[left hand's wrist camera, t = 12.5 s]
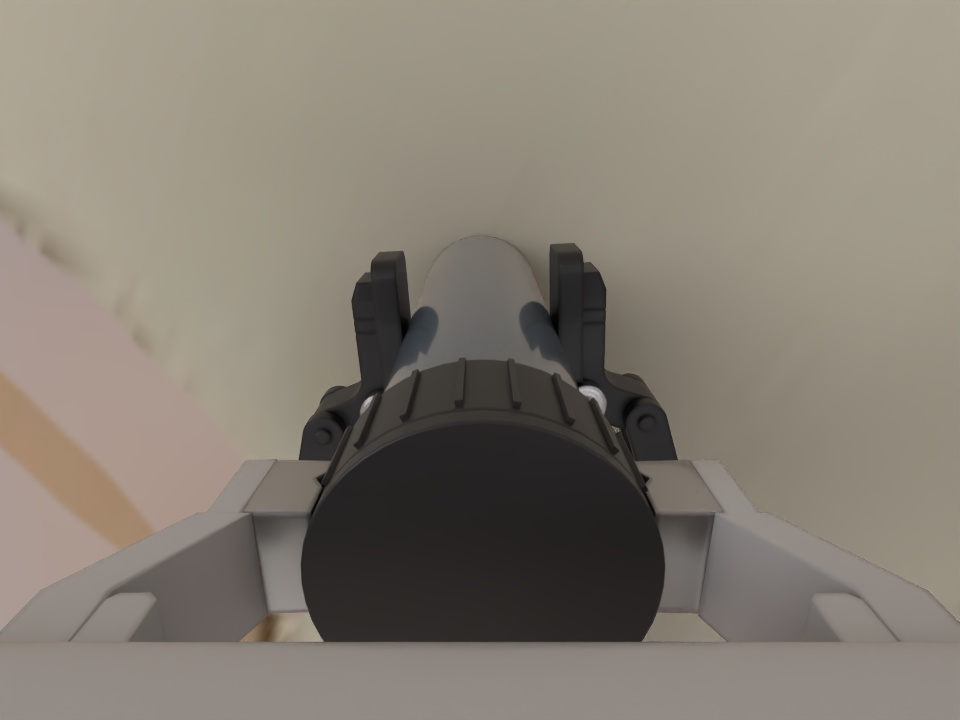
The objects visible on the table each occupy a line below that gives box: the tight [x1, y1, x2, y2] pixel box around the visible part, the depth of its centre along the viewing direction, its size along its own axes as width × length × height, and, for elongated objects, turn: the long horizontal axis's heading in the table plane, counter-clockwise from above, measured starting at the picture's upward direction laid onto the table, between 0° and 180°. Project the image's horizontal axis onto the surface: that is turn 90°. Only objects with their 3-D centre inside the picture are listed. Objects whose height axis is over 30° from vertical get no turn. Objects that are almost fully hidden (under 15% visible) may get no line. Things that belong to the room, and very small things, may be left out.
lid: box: [301, 357, 665, 642], centre depth 9 cm, size 5×5×2 cm
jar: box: [383, 236, 580, 393], centre depth 16 cm, size 4×4×17 cm
